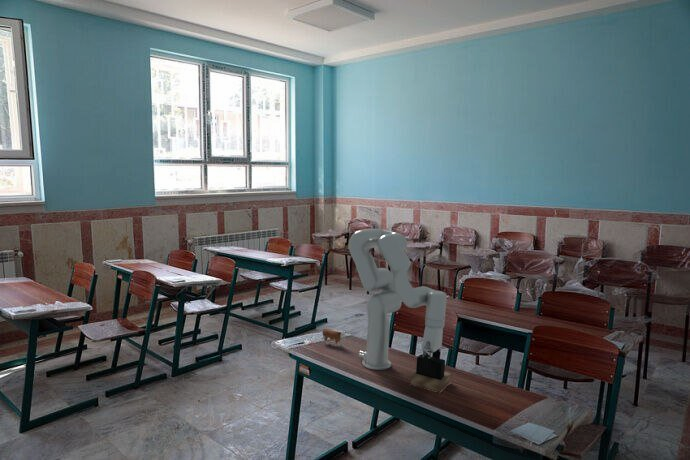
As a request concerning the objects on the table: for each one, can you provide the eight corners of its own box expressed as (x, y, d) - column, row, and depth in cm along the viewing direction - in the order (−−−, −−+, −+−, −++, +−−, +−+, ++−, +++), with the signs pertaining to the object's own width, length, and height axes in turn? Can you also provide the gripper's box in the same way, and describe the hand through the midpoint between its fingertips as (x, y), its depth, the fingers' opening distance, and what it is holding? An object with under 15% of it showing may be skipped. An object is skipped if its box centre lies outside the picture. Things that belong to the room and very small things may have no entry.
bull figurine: (343, 349, 231) (344, 332, 230) (320, 343, 238) (321, 327, 237) (348, 347, 234) (349, 330, 233) (325, 341, 241) (326, 324, 241)
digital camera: (445, 375, 195) (446, 358, 194) (440, 380, 190) (441, 363, 189) (421, 369, 200) (422, 353, 199) (415, 373, 195) (417, 356, 195)
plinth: (409, 385, 194) (410, 375, 194) (422, 374, 205) (423, 365, 204) (440, 393, 187) (440, 383, 187) (451, 382, 198) (452, 373, 198)
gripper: (434, 315, 203) (430, 355, 205) (417, 325, 188) (413, 367, 190) (451, 319, 199) (447, 359, 201) (435, 329, 184) (431, 373, 186)
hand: (431, 363), depth 195 cm, fingers open, 9 cm apart
